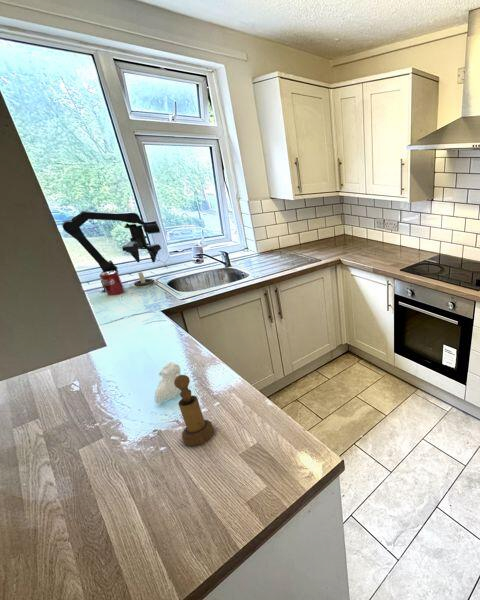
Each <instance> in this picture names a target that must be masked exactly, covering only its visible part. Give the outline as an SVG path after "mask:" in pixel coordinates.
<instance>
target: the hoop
mask: <svg viewBox="0 0 480 600" xmlns="http://www.w3.org/2000/svg"><path fill="white" fill-rule="evenodd" d="M144 279H145V282H146V283H141V281H140V279H139V280H136V281H134V282H133V285H136V286H146V285H149V286H151V285H153V284H152V283H154V282H155V281H156V280H155V279H153V278H144ZM150 284H151V285H150ZM154 284H155V283H154Z"/></svg>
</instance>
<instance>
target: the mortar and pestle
mask: <svg viewBox="0 0 480 600" xmlns="http://www.w3.org/2000/svg"><path fill="white" fill-rule="evenodd" d="M190 382H191V379H190V377H189V376H187V375H186V374H181V375H180V376H178V377H176V378H175V380H174V385H175V386H176V387H177V388H179V389H180V390H181V393H180V394H179V396H180V399H179V401H178V402H177V404H178V407H179V411H180V413H181V416H182V419H183V422H184V425H185V428H184V429H183V430H182V434H181V437H182V440H183V443H184V444H185V446H187V447H196V446H200V445H201V444H203V443H205V442H207V441H208V440H209V439H211V437H212V436H213V435H214V427H213V423H212V422H211V421H210V420H208V419H205V418H204V415H203V412H202V409H201V405H200V402H199V398H198V396H196V395H192V389H189V385H190Z"/></svg>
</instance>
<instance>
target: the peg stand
mask: <svg viewBox="0 0 480 600" xmlns="http://www.w3.org/2000/svg"><path fill="white" fill-rule="evenodd" d="M137 274H138V277H139V280H140V281H141V283H146V282H145V279H146V278H145V275H144V272H142V271H141V272H137ZM153 284H158V280H155V282H154V283H152V284H150V285H146V286H136V285H134V284H131V285H129V287H130V288H147V287H149V286H152V285H153Z"/></svg>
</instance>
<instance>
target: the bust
mask: <svg viewBox="0 0 480 600" xmlns="http://www.w3.org/2000/svg"><path fill="white" fill-rule="evenodd" d="M180 375H182V373H181V367H180V365H179V363H174V362H173V361H171V362H169V363H168V364H166V365H164V366H163V367H162V370H161V371H160V372H158V376H159V377H161V378H160V380H159V381H158V385H157V388H156V390H155V392H154V402H155V403H156V404H157V405H162V404H164V403H165V402H167V401H168V400H172V399H175V398H177V397H178V396H180V393H181V390H180V389H179V388H177V387H176V386H175V385H174V380H175V378H176V377H178V376H180Z"/></svg>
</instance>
